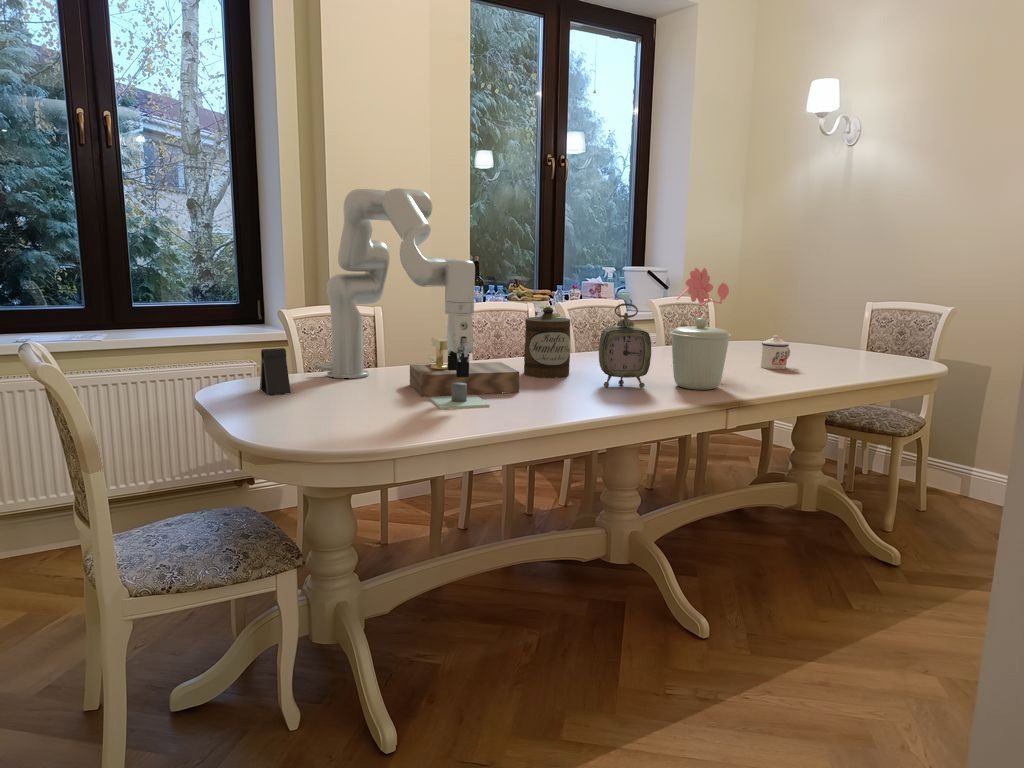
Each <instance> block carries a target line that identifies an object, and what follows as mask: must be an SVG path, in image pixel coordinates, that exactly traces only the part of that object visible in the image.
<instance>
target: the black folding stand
mask: <svg viewBox="0 0 1024 768" xmlns="http://www.w3.org/2000/svg"><path fill="white" fill-rule="evenodd" d="M260 350H261V351H260V353H261V354H260V356H261V357H260V358H261V365H260V379H259V380H260V383H259V390H260V391H261V390H262V391H263V392H262V391H261V392H262V393H264V394H265V393H266V394H265V395H267V396H268V395H270V396H276V395H275V394H281V395H286V394H285V393H291V385H290V384H291V383H290V379H289V378H290V376H289V371H288V362H287V350H286V348H285V347H282V348H281V347H280V348H279V347H278V348H263V349H260Z"/></svg>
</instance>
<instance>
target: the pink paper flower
mask: <svg viewBox="0 0 1024 768" xmlns="http://www.w3.org/2000/svg"><path fill="white" fill-rule="evenodd" d="M689 276H690V277H689V278H688V279H687V280H685V285H686V286H687V288H686V289H685V290H683V292H681V293H680V294H679V295H678V297H677V298H676V300H679V299H680V298H681V297H683V296H684V295H685V294H686V293H687V294H688V295H690V300H691V302H692V303H694V302H696V301H698V304H699V306H698V308H697V310H698V311H697V312H698V315H699V316H698V317H699V318H702V315H701V311H700V308H702V307H703V306H705V305H707V303H710V302H711V303H715V304H719V305H722V304H723V301H725V299H726V298H727V297H728V295H729V292H730V289H729V286H728V285H727V284H726V283H725V282H721V283H720V285H718V287H717V295H718V297H719V298H720V301H717V300H712V299H711V298H710V297H709V295H710V294H709V293H710V292H712V290H713V288H714V285H713V284H712V283H710V278H711V277H710V276H709V275H708V270H707V268H705V267H704V268H703V269H702V270H701V271H700V269H699V268H697V267H695V268H694V270H691V271H689ZM705 327H707V325H706V326H705Z"/></svg>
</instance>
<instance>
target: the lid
mask: <svg viewBox="0 0 1024 768" xmlns="http://www.w3.org/2000/svg"><path fill="white" fill-rule="evenodd" d="M429 400H430V402H432V401H433V402H434V403H435V404H436V405H437V406H438V407H439V408H440V409H439V408H438V409H439V410H450V409H449V408H458V409H473V408H472V407H478V408H488V407H487V406H490V407H491V405H490V403H488V402H487V401H485V400H484V399H483V398H481V397H480V396H478V394H474V395H467V384H466V383H452V395H450V396H429ZM433 402H432V403H433ZM434 403H433V404H434ZM435 404H434V405H435ZM436 405H435V406H436ZM437 406H436V407H437ZM470 407H471V408H470Z"/></svg>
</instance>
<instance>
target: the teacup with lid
mask: <svg viewBox="0 0 1024 768" xmlns="http://www.w3.org/2000/svg"><path fill="white" fill-rule="evenodd" d="M761 345H762V347H761V358H760V359H761V360H760V367H761V368H762V369H767V370H778V371H779V370H785V369H786V368H787V360H788V359H789V358H790V356H791V349H790V348H789V345H790V344H789V342H787V341H784V340H783V339H781V338H780V336H779V335H778V334H777V335H776V334H773V335H772V338H769V339H767V340H764V341H762V343H761Z"/></svg>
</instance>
